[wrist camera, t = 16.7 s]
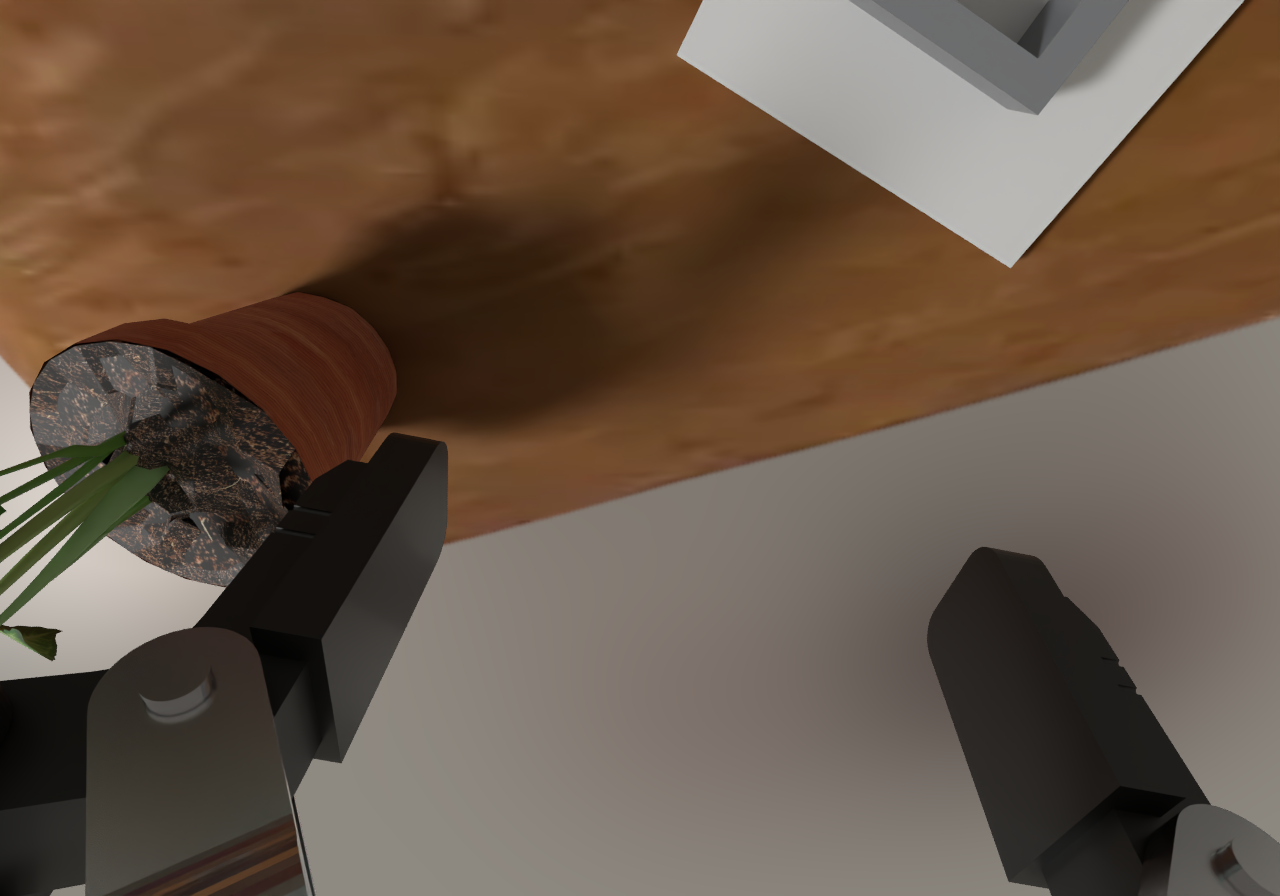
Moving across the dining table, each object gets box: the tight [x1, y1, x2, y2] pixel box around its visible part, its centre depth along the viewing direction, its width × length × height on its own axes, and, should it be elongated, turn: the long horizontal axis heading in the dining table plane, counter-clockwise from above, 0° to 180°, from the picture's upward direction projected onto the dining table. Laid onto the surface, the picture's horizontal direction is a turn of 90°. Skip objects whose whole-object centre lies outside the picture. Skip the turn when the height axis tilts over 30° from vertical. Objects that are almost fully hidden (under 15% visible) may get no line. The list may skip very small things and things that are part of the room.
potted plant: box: [0, 292, 397, 661], centre depth 28 cm, size 16×15×35 cm
